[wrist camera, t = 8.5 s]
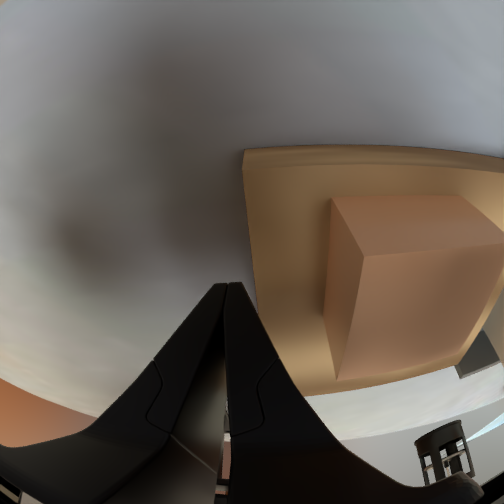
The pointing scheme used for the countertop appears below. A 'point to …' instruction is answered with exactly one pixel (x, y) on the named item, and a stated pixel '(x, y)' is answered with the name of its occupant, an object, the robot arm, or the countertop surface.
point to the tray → (477, 356)
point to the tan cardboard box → (406, 279)
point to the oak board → (318, 231)
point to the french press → (438, 441)
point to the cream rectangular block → (496, 327)
